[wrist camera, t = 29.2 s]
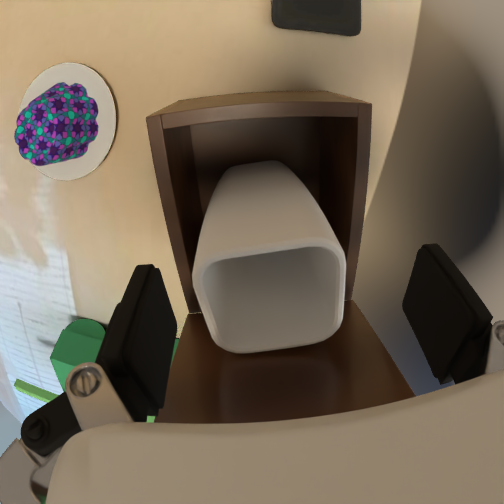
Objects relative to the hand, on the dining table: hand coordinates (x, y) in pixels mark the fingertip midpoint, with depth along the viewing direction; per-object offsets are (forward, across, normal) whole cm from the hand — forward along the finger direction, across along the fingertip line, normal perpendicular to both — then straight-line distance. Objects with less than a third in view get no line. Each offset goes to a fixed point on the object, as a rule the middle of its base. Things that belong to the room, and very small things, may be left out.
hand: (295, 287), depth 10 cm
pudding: (+19, +19, -6) cm, 27 cm away
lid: (+1, 0, +7) cm, 7 cm away
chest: (+19, +1, +2) cm, 19 cm away
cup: (+18, +1, +4) cm, 18 cm away
